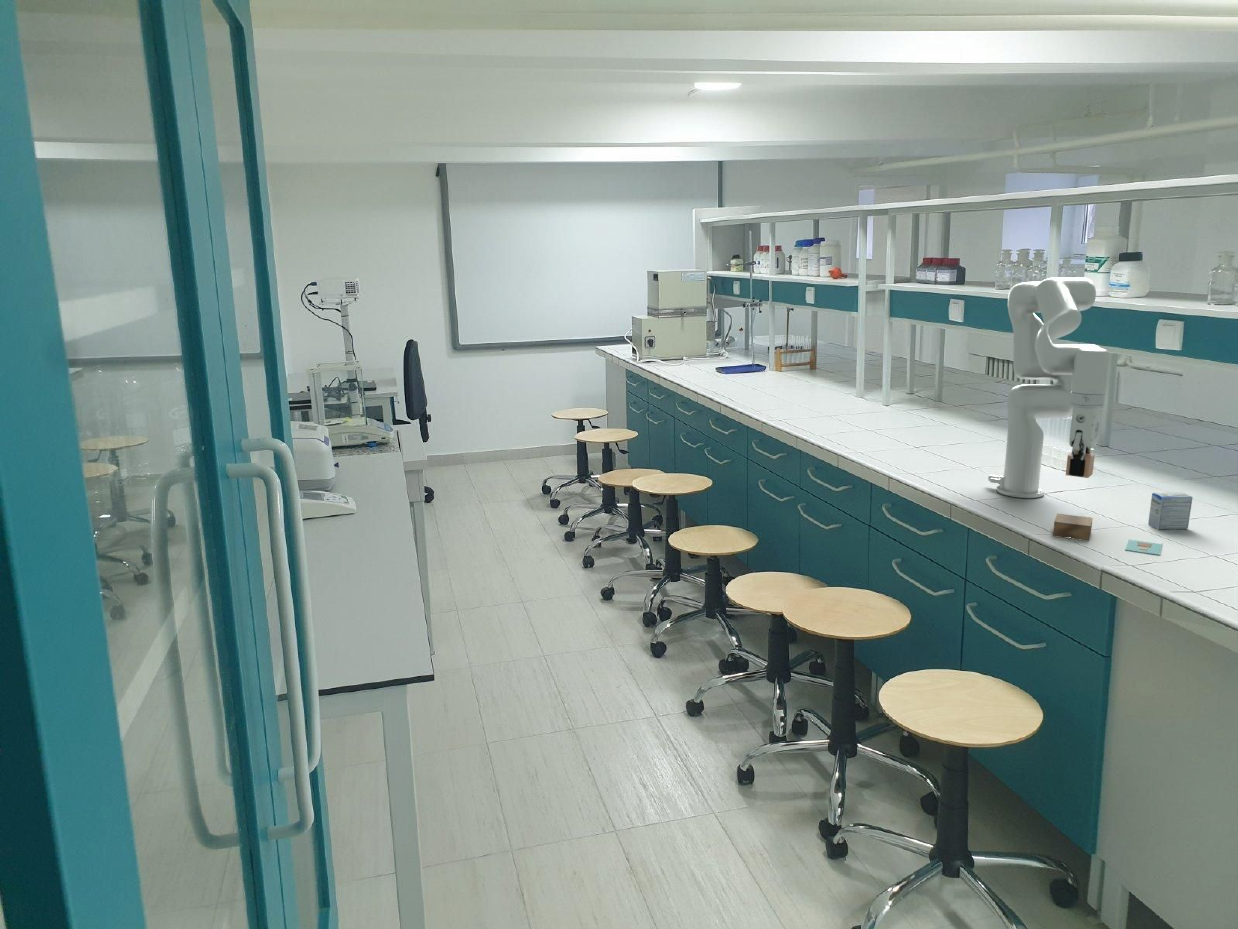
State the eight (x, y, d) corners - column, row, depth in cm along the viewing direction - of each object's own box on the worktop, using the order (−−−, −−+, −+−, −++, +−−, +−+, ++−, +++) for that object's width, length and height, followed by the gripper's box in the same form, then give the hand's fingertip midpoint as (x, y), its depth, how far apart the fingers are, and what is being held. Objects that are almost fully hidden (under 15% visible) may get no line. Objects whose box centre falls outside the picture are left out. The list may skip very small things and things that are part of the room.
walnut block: (1052, 537, 226) (1054, 521, 225) (1055, 528, 233) (1057, 513, 232) (1088, 541, 222) (1090, 526, 221) (1090, 533, 229) (1092, 517, 228)
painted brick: (1065, 475, 223) (1067, 452, 222) (1070, 471, 227) (1072, 449, 226) (1088, 478, 220) (1090, 455, 219) (1092, 474, 224) (1095, 451, 223)
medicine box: (1177, 524, 235) (1182, 491, 233) (1188, 529, 230) (1193, 496, 228) (1147, 524, 235) (1151, 492, 233) (1157, 530, 230) (1162, 496, 228)
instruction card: (1125, 550, 215) (1125, 549, 215) (1128, 540, 222) (1128, 538, 222) (1159, 555, 211) (1159, 554, 211) (1161, 544, 219) (1162, 543, 219)
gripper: (1096, 406, 211) (1088, 482, 215) (1111, 396, 224) (1103, 468, 228) (1061, 403, 215) (1053, 477, 220) (1078, 394, 228) (1070, 464, 233)
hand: (1079, 472), depth 224 cm, fingers closed on painted brick, 5 cm apart
